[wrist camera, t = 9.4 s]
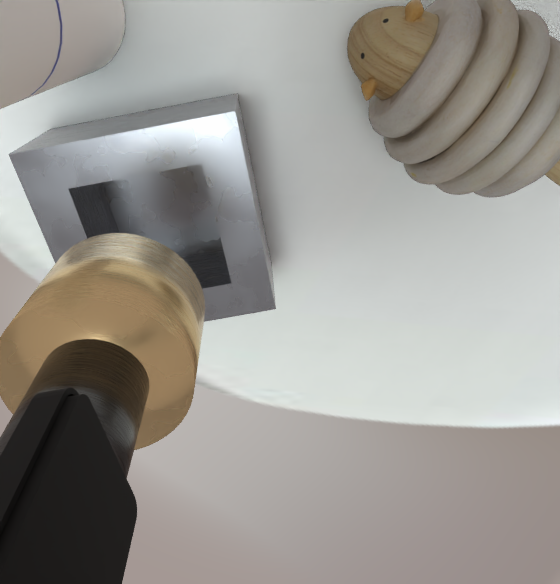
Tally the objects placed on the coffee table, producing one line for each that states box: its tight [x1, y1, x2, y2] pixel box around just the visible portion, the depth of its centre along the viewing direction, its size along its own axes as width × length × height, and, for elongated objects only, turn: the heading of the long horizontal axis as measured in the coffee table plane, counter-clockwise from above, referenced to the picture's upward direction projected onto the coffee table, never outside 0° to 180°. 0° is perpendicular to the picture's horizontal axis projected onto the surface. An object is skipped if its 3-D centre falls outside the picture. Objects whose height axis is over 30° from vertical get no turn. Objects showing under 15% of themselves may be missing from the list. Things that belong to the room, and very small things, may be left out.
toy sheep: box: [347, 0, 560, 197], centre depth 30 cm, size 11×17×11 cm, turn 64°
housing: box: [9, 94, 276, 322], centre depth 35 cm, size 13×13×7 cm
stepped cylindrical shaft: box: [0, 233, 205, 479], centre depth 19 cm, size 7×7×12 cm
